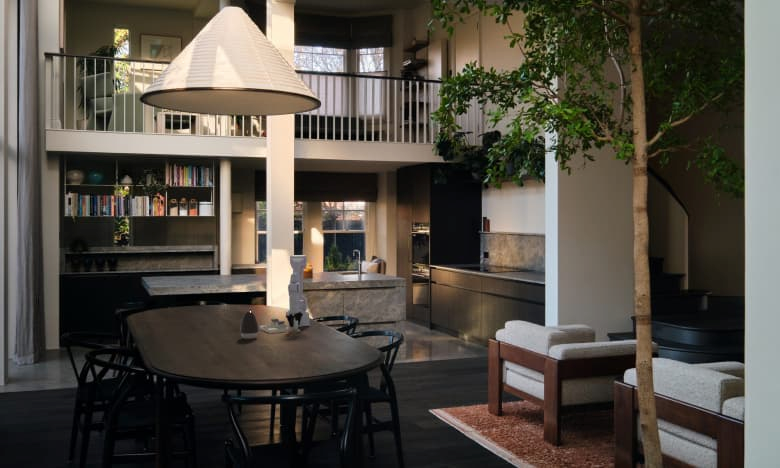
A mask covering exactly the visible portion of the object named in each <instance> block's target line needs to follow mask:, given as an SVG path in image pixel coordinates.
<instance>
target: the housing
mask: <svg viewBox="0 0 780 468" xmlns="http://www.w3.org/2000/svg"><path fill="white" fill-rule="evenodd" d="M259 330H261V331H263V332H266V333H267V334H278V333H287V332H290V331H289V330H290V328H289V327H287V324H286V323H284V324H280V325H279V324H278V323H277V322H272V321H271V320H270V321H269V324H265V325H259Z"/></svg>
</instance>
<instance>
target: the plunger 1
mask: <svg viewBox="0 0 780 468" xmlns="http://www.w3.org/2000/svg"><path fill="white" fill-rule="evenodd" d="M271 321H272V322H277V321H280V320H279V318H278V317H277V318H271V319H270V322H271Z"/></svg>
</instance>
